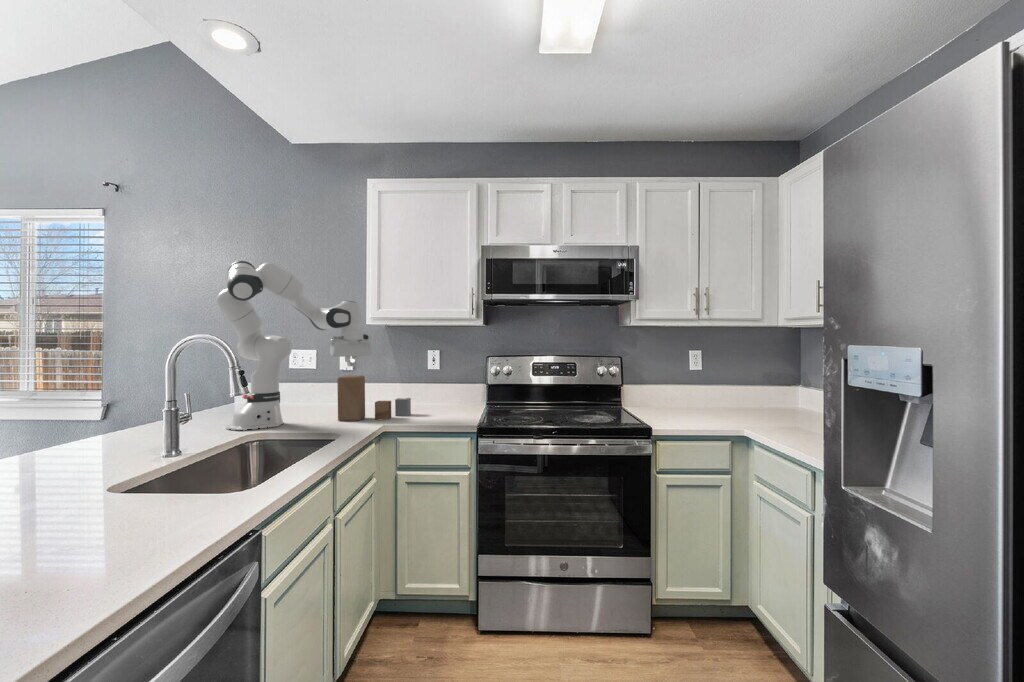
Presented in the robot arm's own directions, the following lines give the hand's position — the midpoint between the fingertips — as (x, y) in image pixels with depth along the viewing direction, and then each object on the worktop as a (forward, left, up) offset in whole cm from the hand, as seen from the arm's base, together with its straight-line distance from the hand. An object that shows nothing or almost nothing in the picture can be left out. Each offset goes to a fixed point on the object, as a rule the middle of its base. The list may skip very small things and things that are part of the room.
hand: (351, 366), depth 238 cm
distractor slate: (+22, -10, -25) cm, 34 cm away
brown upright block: (+10, -10, -25) cm, 28 cm away
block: (0, 0, -25) cm, 25 cm away
